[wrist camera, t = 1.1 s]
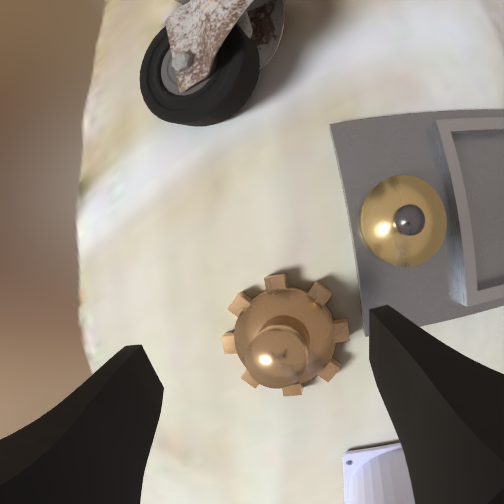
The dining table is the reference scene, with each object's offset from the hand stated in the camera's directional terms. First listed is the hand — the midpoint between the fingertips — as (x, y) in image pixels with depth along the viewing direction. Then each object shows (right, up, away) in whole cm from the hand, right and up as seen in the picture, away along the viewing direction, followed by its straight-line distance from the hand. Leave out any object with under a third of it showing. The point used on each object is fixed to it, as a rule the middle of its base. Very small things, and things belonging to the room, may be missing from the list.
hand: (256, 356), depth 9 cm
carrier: (+14, +6, +7) cm, 17 cm away
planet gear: (+2, -2, +11) cm, 11 cm away
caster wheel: (-2, +17, +11) cm, 20 cm away
